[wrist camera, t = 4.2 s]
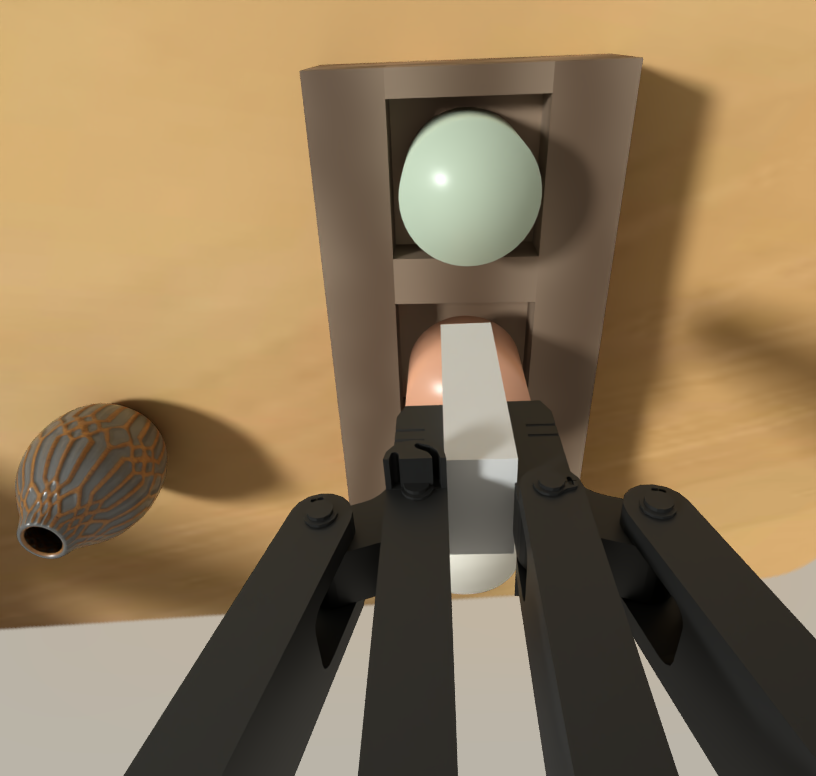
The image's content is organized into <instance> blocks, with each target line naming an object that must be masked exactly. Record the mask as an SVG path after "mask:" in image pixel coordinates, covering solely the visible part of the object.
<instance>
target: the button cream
mask: <svg viewBox="0 0 816 776" xmlns="http://www.w3.org/2000/svg"><path fill="white" fill-rule="evenodd" d="M516 556H517V555H516V549H515V543H514V554H458V555H450V574H451V593H455V594H475V593H481V592H485V591H488V590H491V589H494V588H496V587H498V586H499V585H501V584H503V583H504V582H505V581H507V580H508V579H509V578H510V577H511V576H512V574H513V573H514V572H515V570H516Z"/></svg>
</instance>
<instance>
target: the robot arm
mask: <svg viewBox="0 0 816 776" xmlns="http://www.w3.org/2000/svg"><path fill="white" fill-rule="evenodd" d="M441 357H442V394H443V405H421V406H405V407H404V409H403V410H402V411H401V412H400V414H399V415H398V416H397V420H396V432H395V442H394V446H392V447H391V448H390V449H389V450H388V451H386V453H385V455H384V458H383V466H384V476H385V485H386V489H385V490H384V491H383V492H382V493H381V494H380V495H378V496H376V497H375V498H373V499H371V500H368V501H365V502H362V503H358V504H354V505H350V503H349V502H348V501H347V500H346V499H344V498H343V497H341V496H338V495H335V494H318V495H314V496H310V497H308V498H306V499H304V500H303V501H301V502H299V503H298V504H297V505H296V506H295V507H294V508H293V509H292V510H291V512H290V514H289V515H288V517H287V518H286V520H285V522H284V523H283V525H282V526H281V528H280V529H279V531H278V533H277V534H276V536H275V537H274V539H273V540H272V542H271V544H270V545H269V547H268V548H267V550H266V551H265V553H264V555H263V556H262V558H261V559H260V561H259V563H258V564H257V566H256V567H255V569H254V570H253V572H252V574H251V575H250V577H249V578H248V580H247V581H246V583H245V585H244V586H243V588H242V589H241V591H240V593H239V594H238V596H237V597H236V599H235V600H234V602H233V604H232V605H231V607H230V608H229V610H228V611H227V613H226V615H225V616H224V618H223V619H222V621H221V623H220V624H219V626H218V627H217V629H216V630H215V632H214V634H213V636H212V637H211V638H210V640H209V641H208V643H207V645H206V646H205V648H204V649H203V651H202V653H201V654H200V656H199V658H198V659H197V661H196V662H195V664H194V665H193V667H192V668H191V670H190V672H189V673H188V675H187V676H186V678H185V679H184V681H183V683H182V684H181V686H180V687H179V689H178V690H177V692H176V694H175V695H174V697H173V698H172V700H171V701H170V703H169V705H168V706H167V708H166V710H165V711H164V713H163V714H162V716H161V717H160V719H159V720H158V722H157V724H156V725H155V727H154V728H153V730H152V732H151V733H150V735H149V736H148V738H147V739H146V741H145V743H144V744H143V746H142V747H141V749H140V751H139V752H138V754H137V755H136V757H135V758H134V760H133V761H132V763H131V765H130V766H129V768H128V769H127V771H126V773H125V774H124V776H294V775H295V773H296V770H297V768H298V766H299V763H300V761H301V758H302V756H303V753H304V751H305V748H306V746H307V744H308V741H309V739H310V736H311V734H312V731H313V729H314V726H315V724H316V721H317V719H318V716H319V714H320V712H321V709H322V707H323V704H324V702H325V699H326V697H327V694H328V692H329V689H330V687H331V684H332V682H333V680H334V677H335V674H336V672H337V670H338V667H339V665H340V662H341V660H342V657H343V655H344V653H345V650H346V647H347V645H348V643H349V640H350V638H351V635H352V633H353V630H354V628H355V625H356V623H357V621H358V618H359V616H360V613H361V611H362V608H363V606H364V600H365V599H368V598H371V597H374V596H376V597H375V607H374V617H373V627H372V638H371V648H370V658H369V668H368V678H367V688H366V699H365V709H364V719H363V730H362V740H361V750H360V760H359V771H358V776H458V767H457V738H456V711H455V684H454V656H453V629H452V601H451V574H450V555H458V554H514V543H515V549H516V555H517V556H516V577H515V596H519V597H520V603H521V611H522V617H523V624H524V630H525V637H526V644H527V650H528V657H529V664H530V670H531V676H532V683H533V690H534V697H535V704H536V710H537V717H538V724H539V730H540V737H541V743H542V750H543V756H544V763H545V770H546V776H679V775H678V772H677V769H676V766H675V763H674V760H673V757H672V754H671V751H670V748H669V745H668V742H667V739H666V736H665V733H664V729H663V726H662V723H661V720H660V717H659V714H658V711H657V708H656V706H655V702H654V699H653V696H652V693H651V690H650V687H649V684H648V681H647V678H646V675H645V672H644V669H643V666H642V663H641V660H640V657H639V653H638V650H637V647H636V644H635V641H636V642H637V644H638V646H639V647H640V649H641V650H642V652H643V654H644V655H645V657H646V659H647V660H648V662H649V663H650V665H651V667H652V668H653V670H654V671H655V673H656V675H657V677H658V678H659V680H660V681H661V683H662V685H663V686H664V688H665V689H666V691H667V693H668V694H669V696H670V698H671V699H672V701H673V703H674V704H675V706H676V707H677V709H678V711H679V712H680V714H681V716H682V717H683V719H684V721H685V722H686V724H687V725H688V727H689V729H690V730H691V732H692V733H693V735H694V737H695V738H696V740H697V742H698V743H699V745H700V747H701V748H702V750H703V751H704V753H705V755H706V756H707V758H708V760H709V761H710V763H711V764H712V766H713V768H714V769H715V771H716V772H717V774H718V776H816V639H815V638H814V637H813V635H812V634H811V633H810V632H809V631H808V630H807V629H806V628H805V627H804V626H803V625H802V623H800V621H799V620H798V619H797V618H796V617H795V616H794V615H793V614H792V613H791V612H790V610H789V609H788V608H787V607H786V606H785V605H784V604H783V603H782V602H781V601H780V600H779V598H778V597H777V596H776V595H775V594H774V593H773V592H772V591H771V590H770V589H769V588H768V587H767V585H766V584H765V583H764V582H763V581H762V580H761V579H760V578H759V577H758V576H757V575H756V573H755V572H754V571H753V570H752V569H751V568H750V567H749V566H748V565H747V564H746V563H745V561H744V560H743V559H742V558H741V557H740V556H739V555H738V554H737V553H736V552H735V551H734V550H733V548H732V547H731V546H730V545H729V544H728V543H727V542H726V541H725V540H724V539H723V538H722V536H721V535H720V534H719V533H718V532H717V531H716V530H715V529H714V528H713V527H712V526H711V525H710V523H709V522H708V521H707V520H706V519H705V518H704V517H703V516H702V515H701V514H700V513H699V511H698V510H697V509H696V508H695V507H694V506H693V505H692V504H691V503H690V502H689V501H688V500H687V499H686V498H685V497H683V496H682V495H681V494H680V493H678V492H676V491H674V490H672V489H669V488H667V487H663V486H658V485H653V484H652V485H639V486H636V487H634V488H631V489H630V490H629V491H628V492H627V493H626V494H625V495H624V499H621V498H616V497H611V496H606V495H602V494H599V493H595V492H593V491H591V490H589V489H586V488H585V487H584V486H583V484H582V482H581V481H580V479H579V478H578V477H577V476H576V475H575V474H573V473H572V472H571V471H570V468H569V465H568V462H567V459H566V455H565V452H564V449H563V446H562V443H561V440H560V436H559V433H558V430H557V427H556V426H555V420H554V417H553V414H552V411H551V410H550V409H549V408H548V407H547V406H546V405H545V404H543V403H542V402H541V401H540V400H534V401H506V396H505V391H504V386H503V381H502V376H501V371H500V366H499V361H498V356H497V351H496V346H495V342H494V337H493V332H492V327H491V323H466V324H442V325H441ZM633 637H634V638H633ZM634 639H635V641H634Z"/></svg>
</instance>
